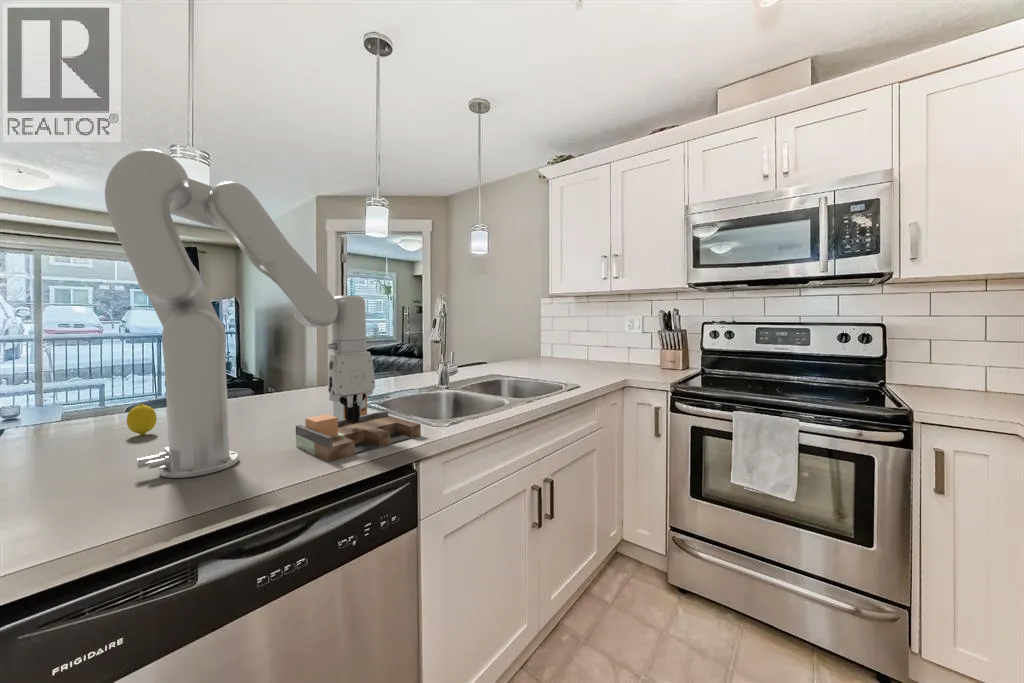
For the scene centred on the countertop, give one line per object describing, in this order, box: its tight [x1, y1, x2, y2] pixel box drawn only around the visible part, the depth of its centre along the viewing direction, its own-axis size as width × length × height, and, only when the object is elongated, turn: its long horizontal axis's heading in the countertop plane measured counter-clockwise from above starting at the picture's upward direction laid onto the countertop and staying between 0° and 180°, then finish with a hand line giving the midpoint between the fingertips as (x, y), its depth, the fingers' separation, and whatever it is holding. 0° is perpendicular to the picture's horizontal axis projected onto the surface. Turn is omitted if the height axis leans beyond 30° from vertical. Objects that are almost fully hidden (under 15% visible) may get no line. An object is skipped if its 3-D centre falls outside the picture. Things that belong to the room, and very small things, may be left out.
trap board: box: [295, 410, 422, 463], centre depth 98 cm, size 24×15×5 cm, turn 141°
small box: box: [332, 395, 368, 420], centre depth 121 cm, size 8×6×10 cm
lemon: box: [126, 403, 158, 436], centre depth 102 cm, size 6×6×8 cm
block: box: [304, 413, 338, 436], centre depth 93 cm, size 5×5×4 cm
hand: (352, 421), depth 99 cm, fingers closed
